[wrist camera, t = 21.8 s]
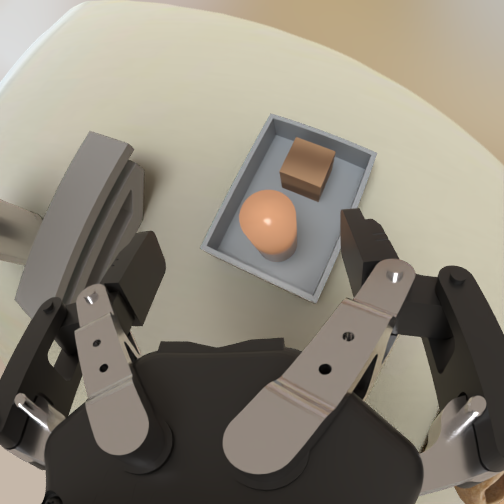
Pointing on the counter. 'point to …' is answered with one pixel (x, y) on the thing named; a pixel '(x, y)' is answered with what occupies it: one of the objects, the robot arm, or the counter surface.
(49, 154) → the counter surface
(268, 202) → the peach dome-topped cylinder
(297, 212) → the tote
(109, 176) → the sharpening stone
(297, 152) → the cube
